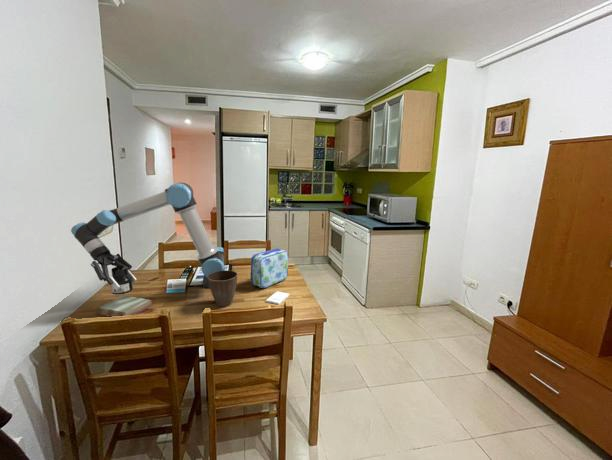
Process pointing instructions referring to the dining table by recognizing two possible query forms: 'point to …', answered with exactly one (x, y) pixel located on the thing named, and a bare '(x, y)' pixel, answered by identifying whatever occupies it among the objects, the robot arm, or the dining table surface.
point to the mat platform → (124, 306)
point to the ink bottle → (121, 280)
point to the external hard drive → (277, 297)
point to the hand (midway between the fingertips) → (126, 284)
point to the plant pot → (223, 286)
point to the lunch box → (269, 267)
